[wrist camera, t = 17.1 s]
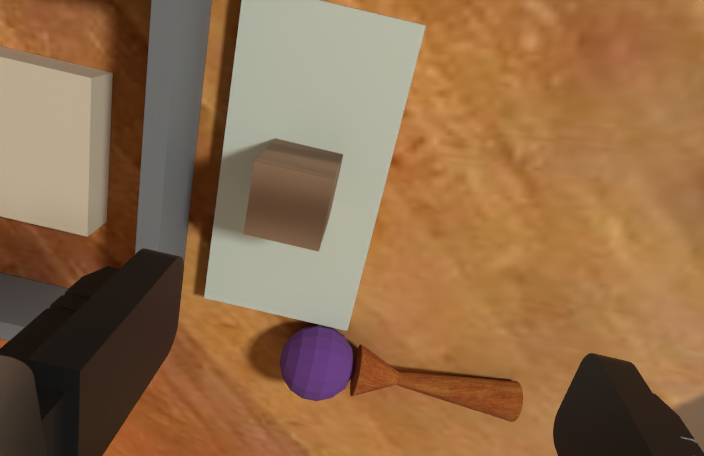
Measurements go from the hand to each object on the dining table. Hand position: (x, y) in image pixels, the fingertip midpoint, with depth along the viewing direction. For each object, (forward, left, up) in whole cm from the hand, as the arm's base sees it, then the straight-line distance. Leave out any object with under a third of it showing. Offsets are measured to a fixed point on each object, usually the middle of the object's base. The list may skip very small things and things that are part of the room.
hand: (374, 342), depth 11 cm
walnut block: (+7, -5, -29) cm, 30 cm away
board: (+7, -5, -30) cm, 31 cm away
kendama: (+22, +6, -31) cm, 38 cm away
